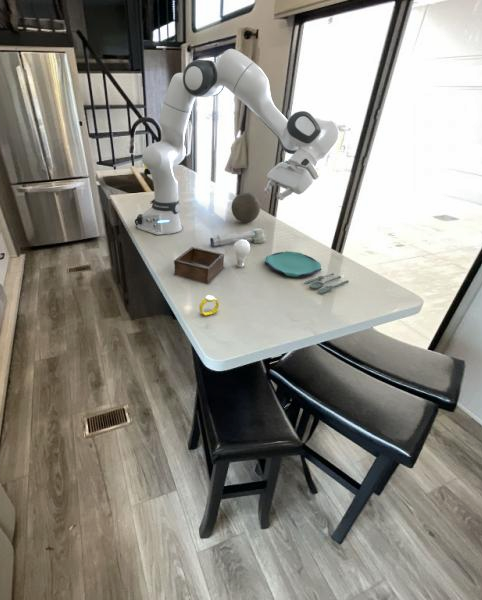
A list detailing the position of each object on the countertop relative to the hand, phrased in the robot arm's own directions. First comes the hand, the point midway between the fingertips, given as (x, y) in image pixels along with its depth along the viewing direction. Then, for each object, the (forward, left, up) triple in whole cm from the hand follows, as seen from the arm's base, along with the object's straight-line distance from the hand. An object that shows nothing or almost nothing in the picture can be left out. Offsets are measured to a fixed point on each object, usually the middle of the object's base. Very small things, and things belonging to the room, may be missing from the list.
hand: (272, 195), depth 115 cm
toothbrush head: (-15, +9, -26) cm, 31 cm away
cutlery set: (+16, -5, -26) cm, 31 cm away
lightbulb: (-6, -12, -26) cm, 29 cm away
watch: (-3, -46, -26) cm, 52 cm away
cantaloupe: (-22, +36, -26) cm, 50 cm away
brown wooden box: (-18, -23, -25) cm, 38 cm away
